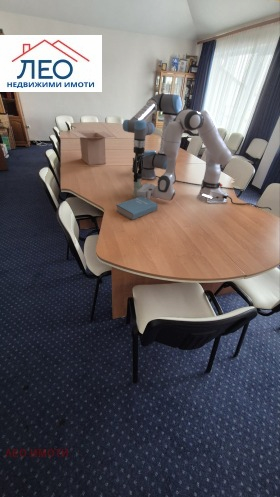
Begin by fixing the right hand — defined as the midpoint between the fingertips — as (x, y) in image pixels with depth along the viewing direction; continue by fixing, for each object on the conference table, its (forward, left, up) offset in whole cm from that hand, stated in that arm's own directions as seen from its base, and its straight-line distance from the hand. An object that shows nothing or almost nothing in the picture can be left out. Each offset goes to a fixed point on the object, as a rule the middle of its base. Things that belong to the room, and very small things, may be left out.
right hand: (135, 187), depth 166 cm
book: (-1, +26, -6) cm, 27 cm away
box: (+43, -87, -6) cm, 97 cm away
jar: (-1, 0, -6) cm, 6 cm away
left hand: (-1, 0, +6) cm, 6 cm away
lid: (-1, 0, +10) cm, 10 cm away
